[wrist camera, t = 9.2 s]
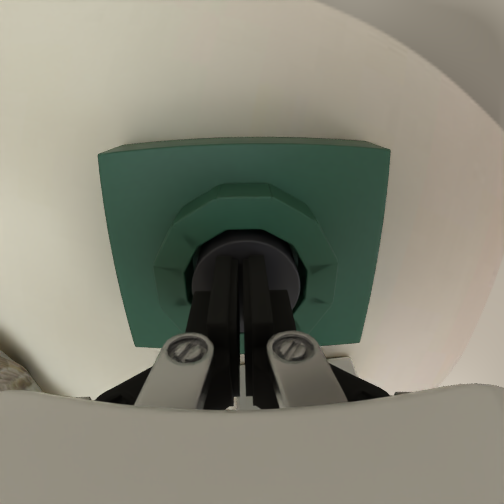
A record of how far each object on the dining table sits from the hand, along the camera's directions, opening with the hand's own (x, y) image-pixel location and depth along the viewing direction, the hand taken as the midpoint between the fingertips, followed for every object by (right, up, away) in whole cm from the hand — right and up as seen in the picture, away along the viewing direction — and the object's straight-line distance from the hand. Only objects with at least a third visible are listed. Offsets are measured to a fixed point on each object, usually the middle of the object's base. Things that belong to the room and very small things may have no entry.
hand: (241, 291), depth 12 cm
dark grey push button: (0, +1, +2) cm, 2 cm away
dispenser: (0, +2, +5) cm, 5 cm away
